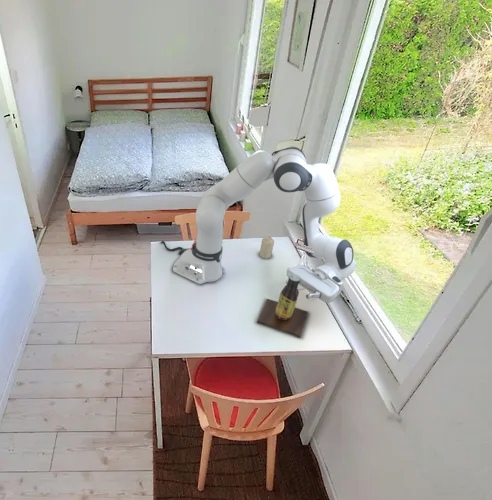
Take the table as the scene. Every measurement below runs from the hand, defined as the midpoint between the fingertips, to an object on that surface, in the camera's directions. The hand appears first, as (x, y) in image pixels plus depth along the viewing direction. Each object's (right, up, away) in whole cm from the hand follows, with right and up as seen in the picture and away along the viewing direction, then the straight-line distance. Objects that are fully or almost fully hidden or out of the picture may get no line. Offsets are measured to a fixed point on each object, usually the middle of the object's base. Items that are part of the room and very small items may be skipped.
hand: (297, 289), depth 143 cm
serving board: (-3, -12, +6) cm, 14 cm away
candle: (+1, +12, +40) cm, 41 cm away
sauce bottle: (-3, -11, +5) cm, 13 cm away
